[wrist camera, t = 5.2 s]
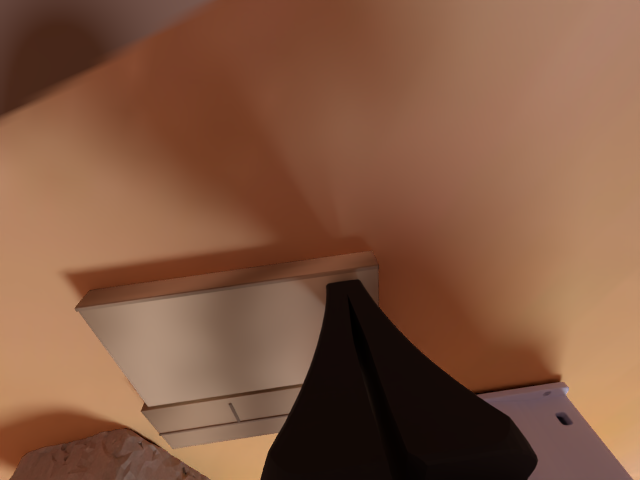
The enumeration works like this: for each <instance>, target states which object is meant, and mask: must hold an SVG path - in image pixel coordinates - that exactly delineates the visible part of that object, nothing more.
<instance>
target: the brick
mask: <svg viewBox="0 0 640 480" xmlns="http://www.w3.org/2000/svg"><path fill="white" fill-rule="evenodd" d="M9 480H210V479H209V478H207V477H206V476H204V475H202V474H200V473H199V472H198V471H196V470H194V469H193V468H191V467H189V466H188V465H186V464H185V463H183V462H182V461H180V460H179V459H177V458H175V457H173V456H171V455H170V454H169V453H168V452H167V451H166V450H164V449H163V448H161V447H158V446H156V445H155V444H153V443H150V442H148V441H146V440H145V439H143V438H142V437H140V436H139V435H137V434H136V433H135V432H133V431H132V430H129V429H117V430H113V431H105V432H101V433H99V434H97V435H94V436H92V437H88V438H86V439H82V440H77V441H73V442H69V443H66V444H59V445H56V446H48V447H43V448H40V449H38V450H35V451H31V452H29V453H27V454H26V455H25V456H24V457H22V458H21V460H20V462H19V465H18V467H17V468H16V470H15V472H14V474H13V476H12V477H11V478H10V479H9Z"/></svg>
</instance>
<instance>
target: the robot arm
mask: <svg viewBox="0 0 640 480" xmlns="http://www.w3.org/2000/svg"><path fill="white" fill-rule="evenodd" d="M568 390H569V387H568V386H567V385H566V384H565V383H564V382H556V383H550V384H543V385H537V386H530V387H524V388H517V389H511V390H504V391H498V392H491V393H485V394H478V395H475V394H474V393H473V392H471V391H470V390H468V389H467V388H466V387H464V386H463V385H461V384H460V383H459V382H457V381H456V380H455V379H453V378H452V377H451V376H450V375H448V374H447V373H446V372H444V371H443V370H442V369H441V368H439V367H438V366H437V365H436V364H434V363H433V362H432V361H431V360H430V359H429V358H427V357H426V356H425V355H424V354H423V353H422V352H421V351H419V350H418V349H417V348H416V347H415V346H414V345H413V344H412V343H411V342H410V341H409V340H408V339H407V338H406V337H405V336H404V335H403V334H402V333H401V332H400V331H399V330H398V329H397V328H396V327H395V326H394V324H393V323H392V322H391V321H390V320H389V319H388V318H387V316H386V315H385V314H384V313H383V312H382V310H381V309H380V308H379V307H378V305H377V304H376V303H375V301H374V300H373V299H372V297H371V296H370V295H369V293H368V292H367V290H366V289H365V287H364V285H363V284H362V282H361V281H360V280H359V279H355V280H348V281H341V282H334V283H328V284H327V285H326V305H325V312H324V318H323V323H322V328H321V331H320V335H319V339H318V343H317V346H316V350H315V353H314V356H313V359H312V362H311V365H310V367H309V370H308V372H307V375H306V377H305V380H304V382H303V385H302V387H301V390H300V392H299V394H298V396H297V398H296V400H295V402H294V405H293V407H292V409H291V411H290V413H289V415H288V417H287V419H286V421H285V423H284V425H283V426H282V428H281V430H280V432H279V433H278V435H277V437H276V439H275V441H274V442H273V444H272V446H271V448H270V450H269V451H268V454H267V458H266V461H265V465H264V468H263V472H262V476H261V480H633V479H632V478H631V476H630V475H629V474H628V473H627V471H626V470H625V469H624V468H623V466H622V465H621V464H620V463H619V461H618V460H617V459H616V458H615V456H614V455H613V454H612V453H611V451H610V450H609V449H608V448H607V446H606V445H605V444H604V443H603V441H602V440H601V439H600V438H599V436H598V435H597V434H596V433H595V431H594V430H593V429H592V428H591V426H590V425H589V424H588V423H587V421H586V420H585V419H584V418H583V416H582V415H581V414H580V413H579V411H578V410H577V409H576V408H575V406H574V405H573V404H572V403H571V401H570V400H569V399H568V398H567V396H566V393H567V392H568Z"/></svg>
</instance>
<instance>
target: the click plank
mask: <svg viewBox="0 0 640 480" xmlns="http://www.w3.org/2000/svg"><path fill="white" fill-rule="evenodd" d="M378 269H379V265H378V262H377V260H376V258H375V255H374V253H373V251H366V252H358V253H351V254H344V255H337V256H330V257H323V258H316V259H309V260H302V261H295V262H287V263H280V264H273V265H266V266H259V267H252V268H245V269H238V270H231V271H224V272H217V273H209V274H202V275H195V276H188V277H181V278H174V279H167V280H160V281H153V282H146V283H138V284H131V285H124V286H117V287H110V288H103V289H96V290H90V291H89V292H88V293H87V294H86V295H85V296H84V297H83V299H82V300H81V301H80V302H79V303H78V304H77V306H76V307H75V310H76V312H78V311H79V313H80V314H81V316H82V317H83V318H84V320H85V321H86V322H87V324H88V325H89V327H90V328H91V329H92V331H93V332H94V333H95V335H96V336H97V337H98V339H99V340H100V342H101V343H102V344H103V346H104V347H105V348H106V350H107V351H108V353H109V354H110V355H111V357H112V358H113V359H114V361H115V362H116V363H117V365H118V366H119V368H120V369H121V370H122V372H123V373H124V374H125V376H126V377H127V379H128V380H129V381H130V383H131V384H132V385H133V387H134V388H135V389H136V391H137V392H138V394H139V395H140V396H141V398H142V399H143V400H144V402H145V403H146V404H147V406H148V407H150V406H157V405H163V404H170V403H176V402H183V401H190V400H196V399H203V398H210V397H216V396H223V395H230V394H236V393H243V392H250V391H256V390H263V389H270V388H276V387H283V386H290V385H296V384H303V382H304V380H305V377H306V375H307V372H308V370H309V367H310V365H311V362H312V359H313V356H314V353H315V350H316V346H317V343H318V339H319V335H320V331H321V328H322V323H323V318H324V312H325V305H326V285H327V284H328V283H334V282H341V281H348V280H355V279H359V280H360V281H361V282H362V284H363V285H364V287H365V289H366V290H367V292H368V293H369V295H370V296H371V297H372V299H373V300H374V301H375V303H376V304H377V305H378V307H379V290H378Z"/></svg>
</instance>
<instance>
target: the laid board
mask: <svg viewBox="0 0 640 480" xmlns="http://www.w3.org/2000/svg"><path fill="white" fill-rule="evenodd" d="M302 385H303V384H296V385H290V386H283V387H276V388H270V389H263V390H256V391H250V392H243V393H236V394H230V395H223V396H216V397H210V398H203V399H196V400H190V401H183V402H176V403H170V404H163V405H157V406H150V407H148V406H147V404H146V403H145V402H144V405H143V407H142V410H141V412H142V413H143V415H144V416H145V417H146V418H147V419H148V420H149V422H150V423H151V424H152V425H153V426H154V428H155V429H156V430H157V431H158V432H159V433H160V434H159V435H160V436H162V437H163V438H164V439H165V440H166V442H167V443H168V444H169V445H170V446H171V448H172V449H176V448H183V447H189V446H196V445H202V444H209V443H215V442H222V441H228V440H235V439H241V438H248V437H254V436H261V435H267V434H274V433H279V432H280V430H281V428H282V426H283V425H284V423H285V421H286V419H287V417H288V415H289V413H290V411H291V409H292V407H293V405H294V402H295V400H296V398H297V396H298V394H299V392H300V390H301V387H302Z"/></svg>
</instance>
